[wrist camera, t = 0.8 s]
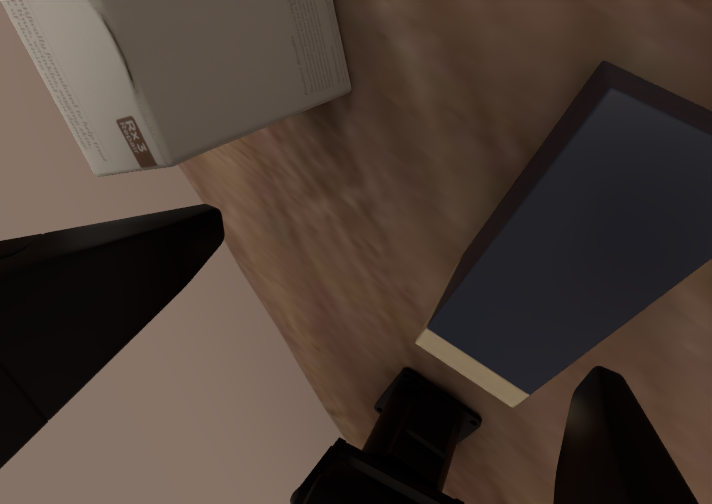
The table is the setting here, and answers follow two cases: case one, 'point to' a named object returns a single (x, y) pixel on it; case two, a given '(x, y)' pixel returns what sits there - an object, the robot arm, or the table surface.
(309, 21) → the cosmetic box
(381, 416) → the robot arm
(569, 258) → the carton
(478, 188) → the table surface
